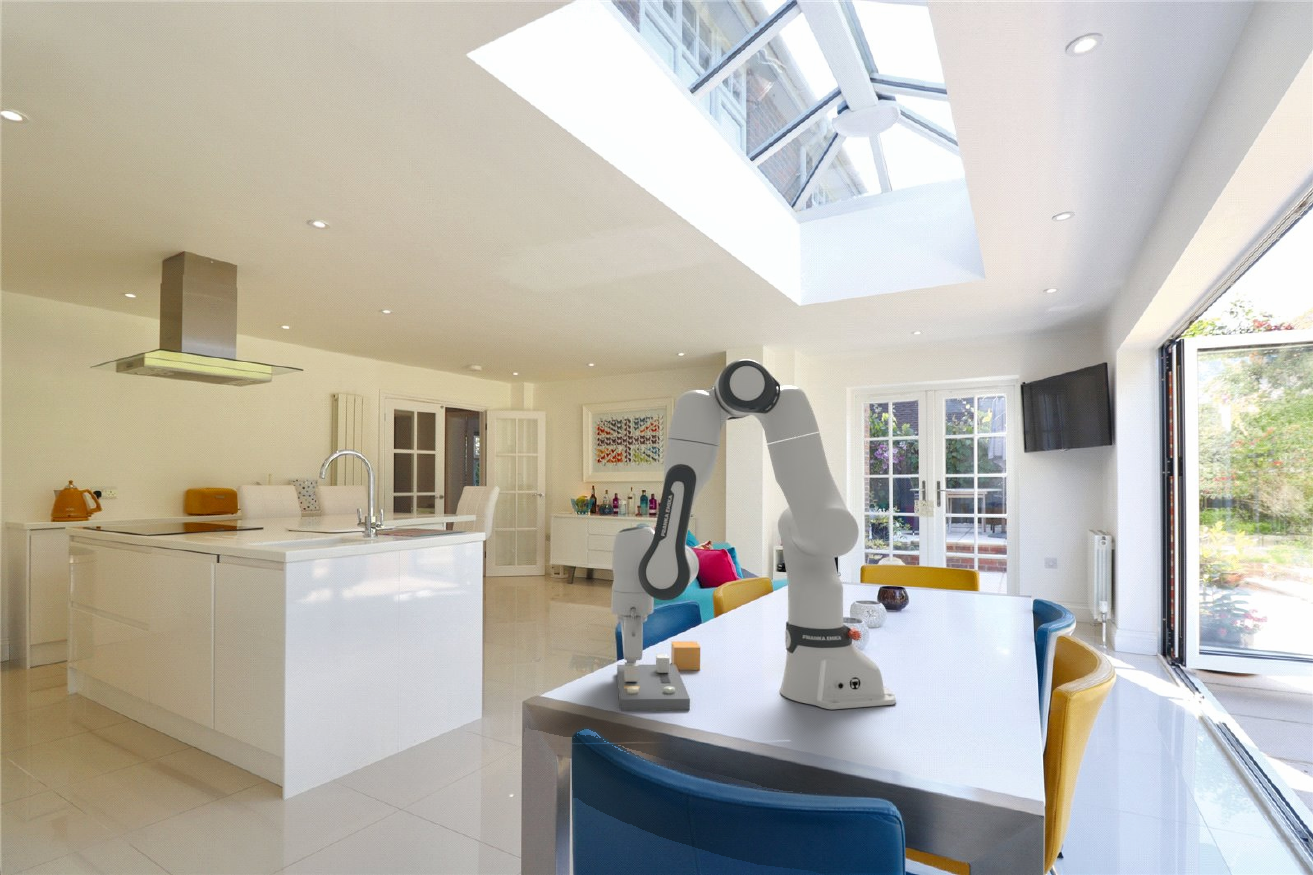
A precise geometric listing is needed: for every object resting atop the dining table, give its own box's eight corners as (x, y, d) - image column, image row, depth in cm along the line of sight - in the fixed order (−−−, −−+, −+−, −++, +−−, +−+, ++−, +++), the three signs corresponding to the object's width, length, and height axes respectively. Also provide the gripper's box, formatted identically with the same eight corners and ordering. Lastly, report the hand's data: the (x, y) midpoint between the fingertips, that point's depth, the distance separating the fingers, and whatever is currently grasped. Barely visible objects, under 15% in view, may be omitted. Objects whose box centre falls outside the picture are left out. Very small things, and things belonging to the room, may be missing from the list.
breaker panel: (675, 673, 145) (675, 660, 146) (689, 709, 122) (690, 694, 122) (617, 673, 144) (617, 661, 145) (619, 710, 120) (620, 694, 121)
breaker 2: (667, 668, 141) (668, 654, 141) (669, 672, 138) (669, 658, 138) (655, 668, 141) (656, 654, 141) (656, 672, 138) (657, 658, 138)
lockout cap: (696, 662, 155) (696, 641, 155) (700, 669, 149) (700, 647, 149) (671, 663, 154) (671, 641, 155) (673, 670, 148) (674, 647, 149)
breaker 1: (637, 677, 134) (637, 662, 134) (637, 681, 131) (638, 666, 131) (624, 677, 134) (624, 662, 134) (624, 681, 131) (625, 666, 131)
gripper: (650, 613, 126) (649, 686, 125) (645, 596, 147) (643, 659, 146) (617, 613, 126) (616, 686, 125) (616, 595, 146) (615, 659, 145)
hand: (631, 671), depth 135 cm, fingers closed
